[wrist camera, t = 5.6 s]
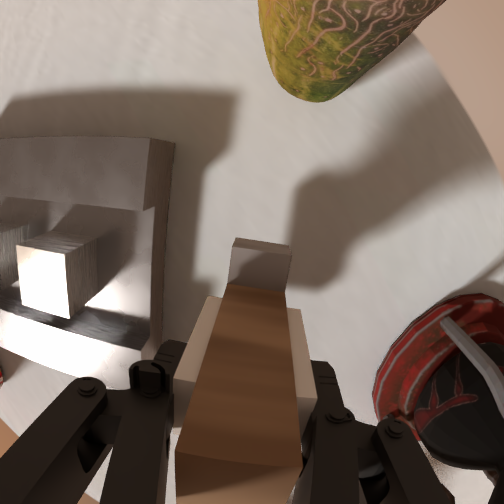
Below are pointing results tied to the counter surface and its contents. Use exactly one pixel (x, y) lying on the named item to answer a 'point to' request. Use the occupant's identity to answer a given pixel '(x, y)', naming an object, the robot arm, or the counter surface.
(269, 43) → the vegetable
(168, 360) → the robot arm
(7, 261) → the beige cube
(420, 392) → the hourglass
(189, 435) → the brown upright block
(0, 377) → the soda can
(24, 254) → the wooden cube
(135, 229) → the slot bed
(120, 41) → the counter surface
